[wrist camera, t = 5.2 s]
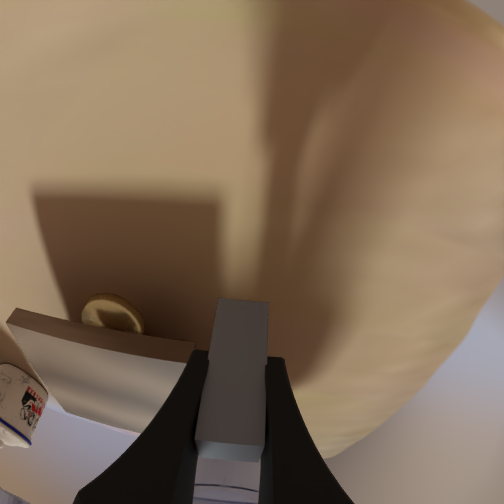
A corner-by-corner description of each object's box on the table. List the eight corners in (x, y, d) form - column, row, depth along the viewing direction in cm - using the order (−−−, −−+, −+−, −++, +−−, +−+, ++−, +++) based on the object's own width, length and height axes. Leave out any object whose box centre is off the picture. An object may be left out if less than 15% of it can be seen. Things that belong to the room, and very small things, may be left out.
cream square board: (211, 386, 27) (202, 444, 22) (79, 362, 27) (59, 409, 22) (207, 289, 20) (190, 363, 15) (38, 267, 20) (-2, 320, 15)
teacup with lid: (57, 406, 35) (33, 469, 26) (12, 385, 35) (-13, 441, 25) (33, 363, 29) (-3, 440, 19) (-15, 339, 28) (-53, 404, 18)
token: (150, 340, 24) (145, 354, 23) (97, 330, 24) (91, 343, 23) (140, 294, 21) (133, 309, 20) (82, 286, 21) (73, 299, 20)
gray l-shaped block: (249, 420, 19) (244, 498, 15) (220, 417, 19) (211, 495, 15) (268, 302, 12) (264, 446, 8) (218, 298, 12) (194, 439, 8)
